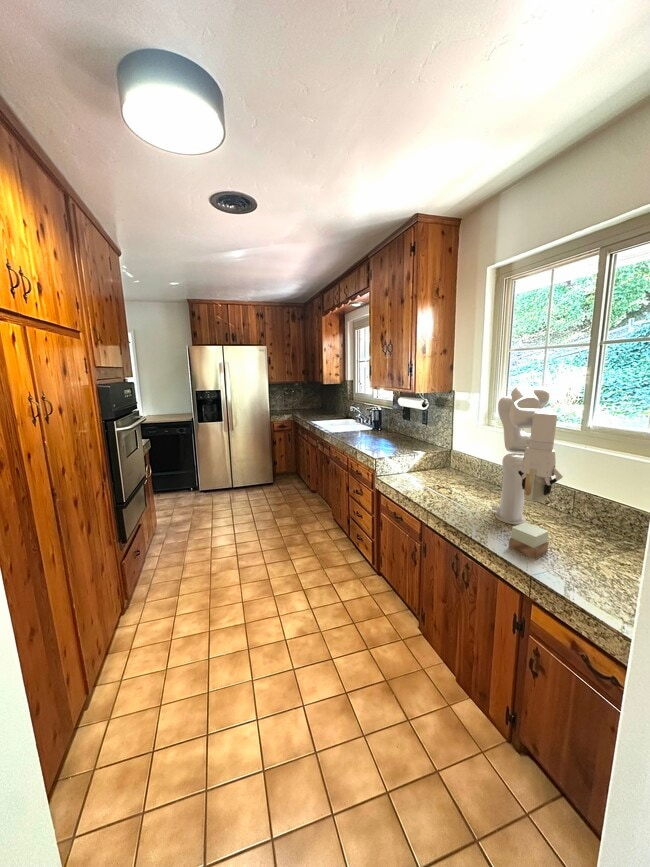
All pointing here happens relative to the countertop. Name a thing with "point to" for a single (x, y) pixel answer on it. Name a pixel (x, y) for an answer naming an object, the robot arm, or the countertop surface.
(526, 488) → the skincare box
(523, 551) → the tower bottom
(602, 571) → the countertop surface
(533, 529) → the tower top
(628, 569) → the countertop surface
